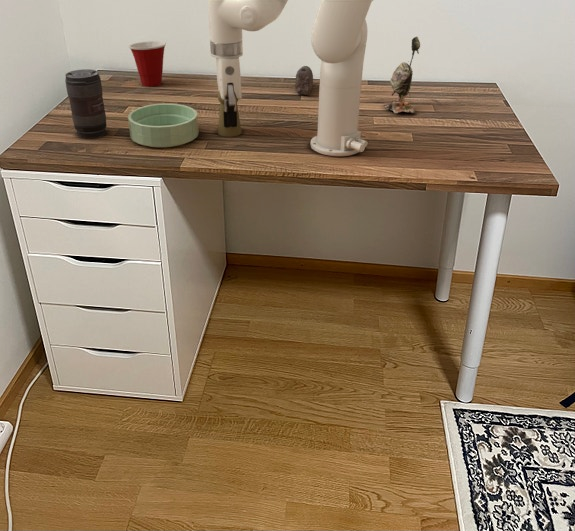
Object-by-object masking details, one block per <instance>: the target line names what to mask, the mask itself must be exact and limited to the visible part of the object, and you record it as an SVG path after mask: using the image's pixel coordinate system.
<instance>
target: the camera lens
mask: <svg viewBox="0 0 575 531" xmlns="http://www.w3.org/2000/svg"><path fill="white" fill-rule="evenodd" d="M101 79H102V78H101V76H100V74H99V71H98V70H96V69H91V68H90V69H76V70H70V71H68V72H66V73H65V81H64V82H65V88H66V93H67V97H68V99H69V106H70V112H71V118H72V123H73V127H74V129H75V131H76V133H77V136H78V137H79V138H82V139H91V140H92V139H97V138H100V137H104V135H105V134H106V128H107V115H106V110H105V103H104V97H103V86H102V80H101Z"/></svg>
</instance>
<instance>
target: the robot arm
mask: <svg viewBox="0 0 575 531" xmlns="http://www.w3.org/2000/svg"><path fill="white" fill-rule="evenodd" d="M288 1H289V0H207V8H208V9H207V10H208V22H209V23H208V27H209V28H208V29H209V45H210V56H211V57H213V58H215V68H216V69H215V71H216V81H217V82H216V83H217V89H218V92H220V95H221V98H222V99H223V100H224V110H225V111H223V114H224V127H230V126H231V127H237V111H236V97H237V99H238V101H239V100H240V101H241V100H242V98H243V94H242V93H243V92H242V78H241V75H242V74H241V65H240V58H241V57H242V56H243V55H244V51H243V50H244V49H243V48H244V47H243V31H247V32H257V31H260V30H262V29H264V28H266V27H267V26H268V25H270V24H272V23H273V22H275V21H276V19H278V18H279V17H280V15H281V13H282V12H283V10H284V8H286V5H287V3H288ZM373 1H374V0H321V2H320V5H319V8H318V11H317V14H316V17H315V20H314V23H313V26H312V29H311V36H310V42H311V47H312V50H313V52H314V54H315V55H316V57H317V58H318V59H319V60H320V70H319V88H318V90H319V91H318V110H317V111H318V112H317V134H316V135H315V136H313V137H312V138H311V140H310V148H311V149H312V150H313V151H314V152H316V153H318V154H321V155H325V156H329V157H349V156H353V155H357V154H358V153H363V152H364V151H365V148H366V147H367V146H368V143H369V142H368V140H366V139H362V138H361V134H362V131H361V130H359V117H360V108H361V106H360V105H361V104H360V103H361V94H362V82H363V72H364V71H363V70H364V64H365V63H364V61H365V55H366V48H367V41H368V24H367V20H366V18H367V15H368V13H369V10H370V8H371V5H372V3H373ZM227 89H228V90H227ZM235 94H236V97H235ZM226 96H228V99H226ZM227 102H228V103H227Z"/></svg>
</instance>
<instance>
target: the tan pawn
mask: <svg viewBox="0 0 575 531" xmlns="http://www.w3.org/2000/svg"><path fill="white" fill-rule="evenodd" d="M227 90H228V89H227ZM235 97H236V94H235ZM226 99H228V96H226ZM217 100H218V102H219V112H218V113H219V114H218V123H217V124H218V126H217V134H218V136H222V137H229V138H230V137H231V138H232V137H237V136H240V135H241V134H242V125H241V120H240V113H239V107H238V101H239V99H237V97H236V111H237V127H231V126H230V127H224V114H223V111H225V110H224V100H223V99H222V98H221V95H220V92H219V91H218V92H217ZM227 103H228V102H227Z"/></svg>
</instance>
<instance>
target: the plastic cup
mask: <svg viewBox="0 0 575 531" xmlns="http://www.w3.org/2000/svg"><path fill="white" fill-rule="evenodd" d="M166 44H167V43H166V42H164V41H158V40H155V41H154V40H153V41H152V40H151V41H150V40H149V41H140V42H135V43H131V44H129V45H128V48H129V49H130V51H131V53H132V56H133V58H134V62H135V66H136V70H137V72H138V75H139V79H140V83H141V84H142V86H144V87H149V88H151V87H152V88H153V87H159V86H160V85H162V82H163V81H162V80H163V69H164V55H165V46H166Z"/></svg>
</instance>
